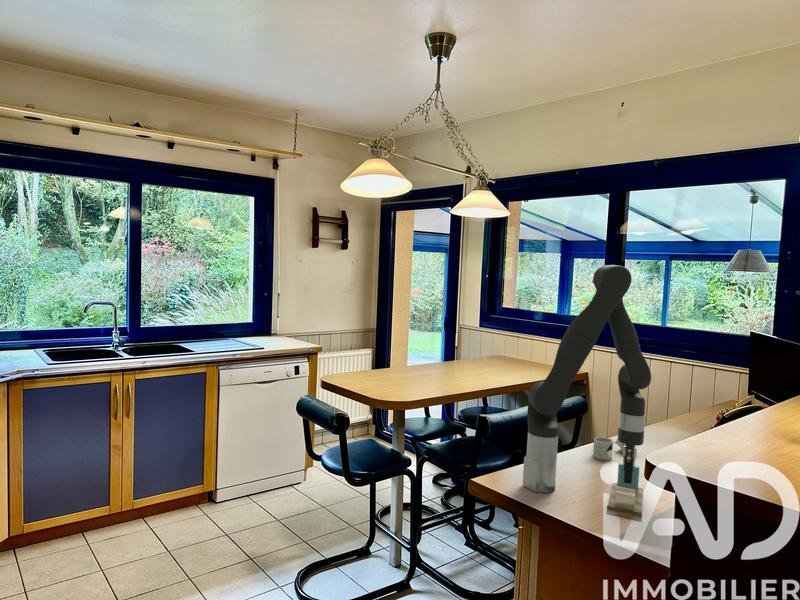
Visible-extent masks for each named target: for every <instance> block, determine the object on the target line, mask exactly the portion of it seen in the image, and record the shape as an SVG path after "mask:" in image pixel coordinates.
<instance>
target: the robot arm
mask: <svg viewBox="0 0 800 600" xmlns="http://www.w3.org/2000/svg"><path fill="white" fill-rule="evenodd" d="M592 282H593V285H594V287H595V290H596V292H595V294H594V295H593V297H592V299H591V300H590V302H589V303H588V305H587V306H585V308H584V309H583V310H581V312H580V313H579V314H577V316H576V317H575V318H574V319H573V320H572V322H571V323H570V324H569V326H568V327H567V329H566V331H565V332H564V335H563V336H562V338H561V340H560V343H559V345H558V347H557V351H556V355H555V358H554V362H553V366H552V368H551V370H550V372H549V373H548V374H547V377H546V378H545V380H543V381H537V382H535V383H534V384H533V385H531V387H530V389H529V391H528V396H527V397H528V398H527V442H526V455H525V456H524V458H523V470H522V471H523V474H522V486H523V487H525V488H527V489H529V490H530V491H532V492H534V493H552V492H554V491H555V490H556V478H557V460H558V443H559V424H558V418H557V415H558V414H557V413H558V412H559V410H561V408H562V407H563V404H564V402H565V399H566V397H567V395H568V393H569V390H570V388H571V385H572V384H573V382H574V380H575V378H576V376H577V375H578V373H579V371H580V370H581V369H582V367H583V365H584V363H585V362H586V359H587V358H588V356H589V355H590V353H591V352H592V350H593V348H594V346H595V344H596V343H597V341H598V339H599V338H600V335H601V333H602V331H603V330H604V328H605V326H606V324H607V322H608V324H609V328H610V331H611V335H612V339H613V343H614V348H615V351H616V354H617V357H618V358H619V359H620V360H621V361H622V362H623V363H624V364H623V365H622V366H621V367H620V368H619V371H618V374H617V381H618V389H619V393H620V394H619V395H620V411H619V417H618V427H617V428H618V429H617V439H618V441H619V442H621V443H624V444H626V446H623V450H622V456H623V457H622V463H624V471H625V472H624V482H625V483H629V484H631V482H632V472H633V465H635V464H636V456H637V453H638V452H637V451H638V449H637V447H636V446H638V447H639V446H642V445H644V440H645V439H644V438H645V425H646V423H645V422H646V420H645V414H646V413H645V411H646V400H645V398H644V396H642V394H641V393H640V390H644V389H646V388H648V387H649V386H650V384H651V381H652V372H651V369H650V366H649V364H648V362H647V360H646V359H645V356H644V355H643V352H642V351H641V345H640V342H639V337H638V333H637V330H636V328H635V325H634V324H633V321H632V319H631V318H630V316H629V313H628V311H627V310H626V307H625V303H624V300H623V298H624V297H625V295H626V293H627V292H628V290H629V289H630V288H631V285H632V275H631V271H630V270H629V269H628V268H627V267H625V266H623V265H616V264H610V265H609V264H608V265H607V264H605V265H602V266H600V267H598V269H596V270H595V271H594V274H593V277H592ZM635 445H636V446H635ZM634 446H635V447H636V448H635V447H634ZM626 466H629V467H626ZM630 467H631V468H630Z"/></svg>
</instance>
